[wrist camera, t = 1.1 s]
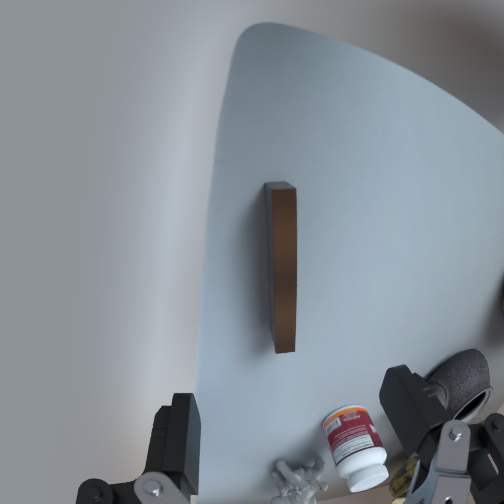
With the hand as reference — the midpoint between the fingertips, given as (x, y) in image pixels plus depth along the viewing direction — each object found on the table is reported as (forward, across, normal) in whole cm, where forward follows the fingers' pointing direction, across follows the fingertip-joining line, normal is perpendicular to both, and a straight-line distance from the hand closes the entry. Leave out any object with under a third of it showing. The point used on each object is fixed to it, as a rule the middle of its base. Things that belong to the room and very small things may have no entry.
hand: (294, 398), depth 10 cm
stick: (+14, -1, 0) cm, 14 cm away
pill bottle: (+14, -10, +23) cm, 29 cm away
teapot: (+14, -25, +24) cm, 38 cm away
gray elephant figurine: (+14, -4, +37) cm, 40 cm away
